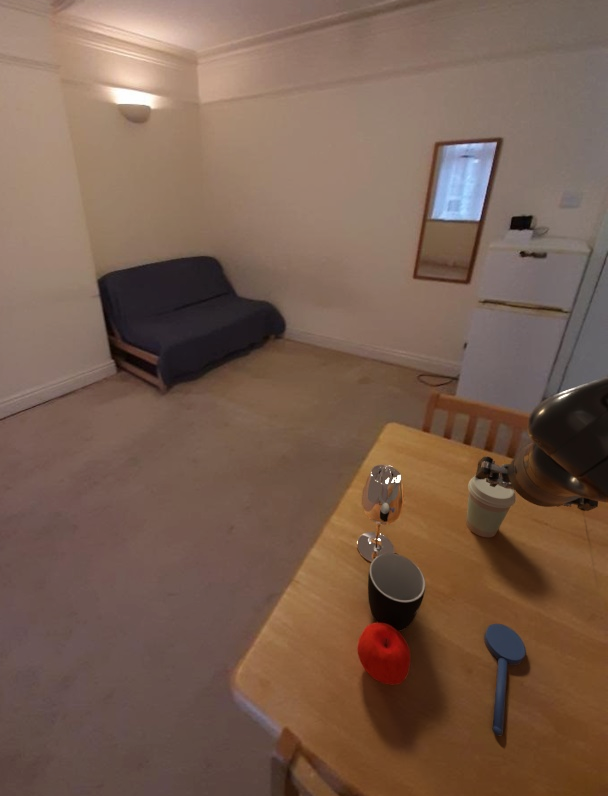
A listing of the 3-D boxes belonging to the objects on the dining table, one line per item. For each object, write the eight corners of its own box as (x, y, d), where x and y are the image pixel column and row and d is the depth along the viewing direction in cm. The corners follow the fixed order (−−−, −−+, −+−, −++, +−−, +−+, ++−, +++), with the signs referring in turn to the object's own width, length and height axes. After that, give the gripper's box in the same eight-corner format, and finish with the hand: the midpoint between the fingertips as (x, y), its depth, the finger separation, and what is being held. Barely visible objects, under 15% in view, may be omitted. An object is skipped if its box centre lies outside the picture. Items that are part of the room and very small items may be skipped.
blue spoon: (486, 622, 70) (487, 617, 70) (524, 640, 67) (526, 635, 67) (473, 723, 58) (475, 718, 57) (519, 750, 55) (522, 745, 54)
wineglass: (398, 567, 80) (412, 491, 71) (357, 562, 81) (366, 487, 73) (391, 534, 87) (403, 461, 78) (354, 530, 88) (362, 458, 80)
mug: (417, 647, 67) (426, 610, 63) (361, 630, 70) (367, 592, 65) (416, 582, 77) (424, 546, 73) (367, 569, 80) (372, 533, 76)
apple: (414, 698, 61) (421, 671, 58) (360, 694, 61) (364, 667, 58) (400, 641, 68) (405, 614, 65) (352, 638, 69) (355, 611, 65)
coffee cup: (503, 520, 89) (517, 478, 84) (503, 549, 83) (517, 506, 77) (461, 505, 93) (471, 465, 88) (457, 533, 87) (468, 491, 81)
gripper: (623, 462, 49) (580, 482, 63) (490, 429, 56) (477, 453, 70) (617, 524, 47) (574, 530, 61) (480, 481, 54) (469, 496, 67)
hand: (522, 489), depth 65 cm, fingers open, 8 cm apart
